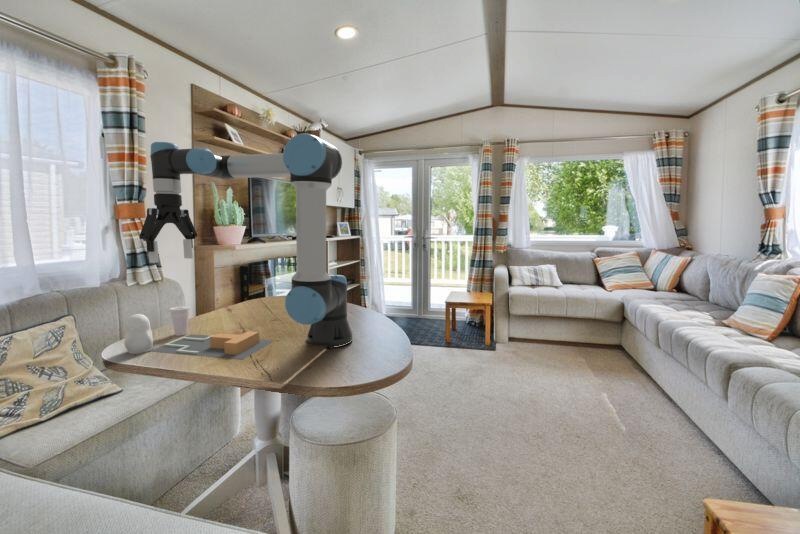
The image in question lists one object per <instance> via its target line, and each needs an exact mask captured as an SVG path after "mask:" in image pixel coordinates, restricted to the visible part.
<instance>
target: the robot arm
mask: <svg viewBox="0 0 800 534" xmlns="http://www.w3.org/2000/svg"><path fill="white" fill-rule="evenodd" d="M149 155H150V156H149V157H150V162H151V163H150V165H151V172H152V188H153V192H154V194H153V204H154V206H155V207H156V208H155V207H153V208H149V207H148V208H147V209H146V216H145V220H144V222H143V225H142V228H141V231H140V234H139V236H138V237H139V239H140V240H142V241H144V242H145V243H146V244H145V245H146V251H147V253H148V259H149V260H148V261H149V262H148V263H155V264H156V263H160V261H159V248H158V241H157V240H156V238H157V237H158V235H159V234H160V232H161V230H162V229H163V227H164V226H165V225H166V224H173V225H174V226H175V227H176V228H177V229H178V230H179V232H180V233H181V235H182V236H183V237H184V238H183V239H182V244H183V246H182V247H183V257H184V259H188V260H189V259H193V258H194V257H193V248H194V244H193V242H194V241H193V240H195V239H196V238H197V237H198V233H197V230H196V228H195V226H194V224H193V221H192V219H191V217H190V213H189V209H181V207H182V206H183V200H182V195H181V194H180V193H182V186H181V183H182V182H181V175H196V176H197V175H198V176H205V177H209V178H215V179H221V180H227V181H228V180H234V179H245V178H248V179H249V178H251V179H252V178H289V179H290V181H289V182H290V185H291V186H292V187H293V188H294V189H295V199H296V200H295V205H296V206H295V210H296V211H295V217H296V218H295V219H296V221H295V222H296V226H295V228H296V231H295V232H296V233H295V234H296V237H295V239H296V272H295V273H294V275H292V277H291V289H290V290H289V292H288V293H287V294H286V297H285V300H284V306H285V310H286V313H287V315H288V316H289V317H290V319H292V320H293V321H294V322H296V323H298V324H300V325H303V326H304V325H305V326H307V325H308V326H309V325H310V326H309V329H308V333H307V336H306V338H307V339H306V341H307V343H309V345H310V344H311V345H313V346H317V347H318V346H320V347H334V346H339V345H343V344H346V343H348V342H350V341H351V340H352V341H353V332H352V330H351V327H350V323H349V320H348V284H347V283H348V281H347V277H346V276H345V275H342V274H329V273H328V272H327V191H328V189H329V188H331V186H332V183H333V181H332V180H333V179H334V178H336V177H337V176H339V174H340V172H341V170H342V167H343V166H342V165H343V158H342V155H341V153H340V151H339V150H338V148H337V147H336V146H335V145H333V144H332V143H330V142H328V141H325V140H323V139H322V138H321V137H319V136H318V135H315V134H310V133H307V132H305V133H297V134H295V135H294V136H292V137H291V138H290V139H289V140H288V141H287V142H286V144H285V145H284V148H283V152H282V153H277V152H276V153H256V154H231V155H229V154H228V155H225V154H224V155H220V154H215V153H213V152H212V151H211V150H210V149H209V148H203V147H202V148H200V147H194V148H180V149H179V146H178V145H177V143H176V144H175V143H173V142H168V141H167V142H166V141H154V142H152V143H151V144H150V154H149Z"/></svg>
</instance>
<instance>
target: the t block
mask: <svg viewBox="0 0 800 534" xmlns="http://www.w3.org/2000/svg"><path fill="white" fill-rule="evenodd" d="M212 335H213V336H211V335H210V336H211V337H210V348H220V349H225V354H232V355H238V354H239V353H241V352H243V351H245V350H247V349H248V348H250V347H252V346H254V345H256V344H257V343H259V339H260V332H258V331H249V330H247V331H245V332H244V333H241V334H233V333H220V332H219V333H215V334H212Z"/></svg>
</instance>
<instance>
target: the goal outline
mask: <svg viewBox="0 0 800 534" xmlns="http://www.w3.org/2000/svg"><path fill="white" fill-rule="evenodd" d="M213 335H214V334H212V335H208V336H209V337H207V338H204V339H203V338H190V337H186V336H182V337H179V338H177V339H174V340H171V341H170V342H166V343H164V344H163V345H164V346H167V347H179V348H181V349H179V350H176V352H178V353H189V354H199V351H189V350H186V349H188V348H190V346H189V345H176V344H174V343H176V342H179V341H181V340H195V341H206V340H209V339H210V337H211V336H213Z"/></svg>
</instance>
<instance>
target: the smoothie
mask: <svg viewBox="0 0 800 534" xmlns="http://www.w3.org/2000/svg"><path fill="white" fill-rule="evenodd" d="M178 298H179V306H173V307H170V308H169V310H168V311H169V312H168V313H170V318H171V320H172V321H171V323H172V326H173V330H174V336H176V337H181V336H182V337H183V336H185V335H188V327H189V326H188V325H189V315H190V310H191V307H190V306H189V305H182V303H183V302H182V295H179V297H178Z"/></svg>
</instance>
